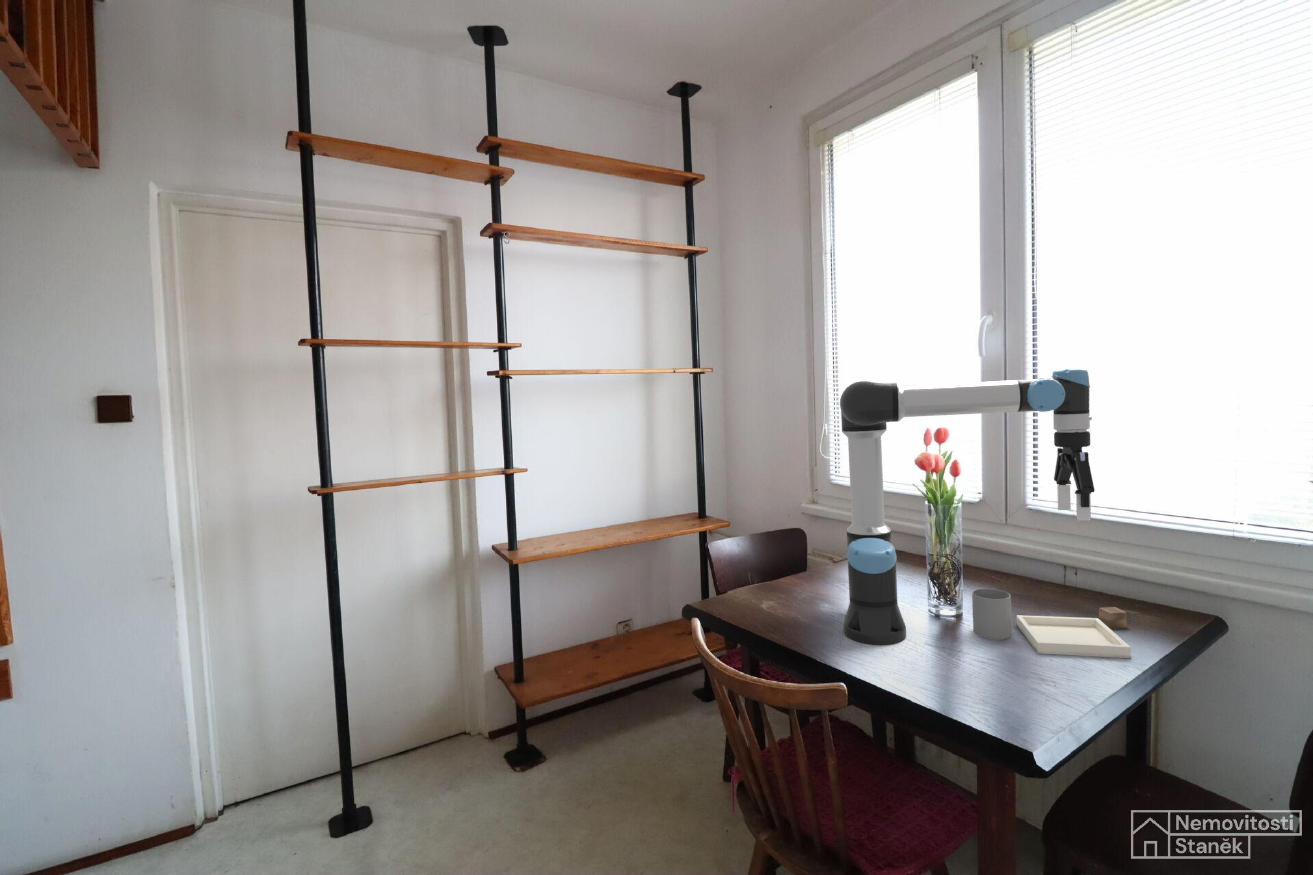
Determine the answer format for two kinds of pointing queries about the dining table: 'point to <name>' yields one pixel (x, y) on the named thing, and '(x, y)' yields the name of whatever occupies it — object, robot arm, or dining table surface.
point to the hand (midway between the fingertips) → (1073, 514)
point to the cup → (991, 613)
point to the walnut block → (1113, 617)
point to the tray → (1072, 636)
